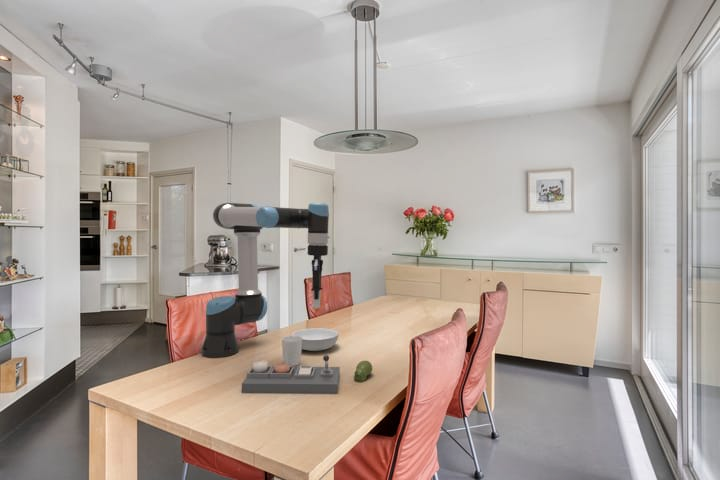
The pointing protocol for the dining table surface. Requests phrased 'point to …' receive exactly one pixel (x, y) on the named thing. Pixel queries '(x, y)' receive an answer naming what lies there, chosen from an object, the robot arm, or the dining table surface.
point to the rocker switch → (305, 370)
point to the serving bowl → (317, 338)
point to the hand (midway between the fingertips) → (316, 307)
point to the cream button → (260, 366)
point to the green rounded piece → (362, 371)
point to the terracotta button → (282, 368)
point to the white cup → (292, 350)
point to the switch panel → (292, 381)
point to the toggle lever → (326, 364)
